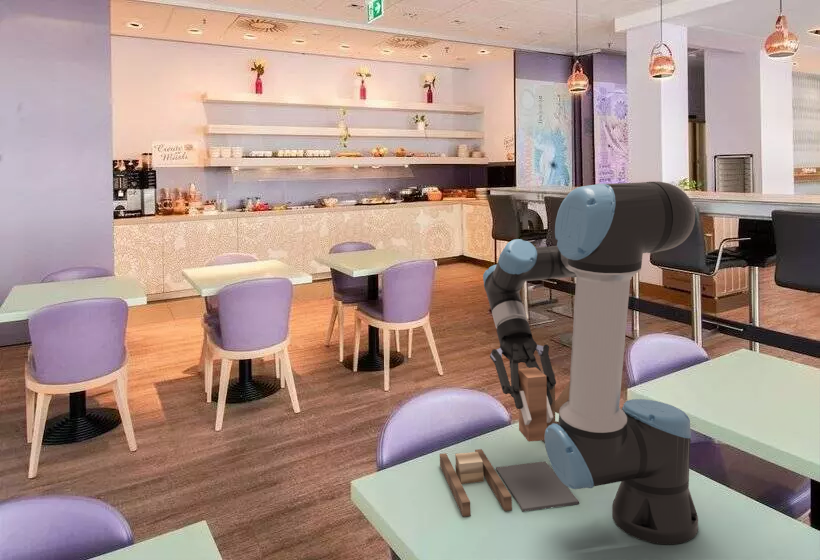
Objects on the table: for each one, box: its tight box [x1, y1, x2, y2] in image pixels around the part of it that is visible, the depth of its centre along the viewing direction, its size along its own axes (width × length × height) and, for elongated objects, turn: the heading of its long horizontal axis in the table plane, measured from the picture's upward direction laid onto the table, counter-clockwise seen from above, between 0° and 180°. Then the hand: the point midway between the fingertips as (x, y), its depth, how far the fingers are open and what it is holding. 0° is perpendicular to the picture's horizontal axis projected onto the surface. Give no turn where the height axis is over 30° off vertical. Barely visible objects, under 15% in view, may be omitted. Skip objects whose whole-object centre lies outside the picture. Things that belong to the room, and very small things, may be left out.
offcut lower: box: [454, 463, 485, 485], centre depth 133 cm, size 5×5×2 cm
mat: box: [495, 460, 580, 512], centre depth 128 cm, size 18×12×1 cm, turn 9°
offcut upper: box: [454, 451, 483, 474], centre depth 132 cm, size 5×5×2 cm
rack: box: [439, 448, 513, 517], centre depth 128 cm, size 22×10×3 cm, turn 9°
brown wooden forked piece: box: [541, 370, 570, 443], centre depth 150 cm, size 4×11×18 cm, turn 113°
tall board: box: [518, 367, 547, 442], centre depth 125 cm, size 6×4×14 cm, turn 9°
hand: (539, 421), depth 122 cm, fingers closed on tall board, 4 cm apart
